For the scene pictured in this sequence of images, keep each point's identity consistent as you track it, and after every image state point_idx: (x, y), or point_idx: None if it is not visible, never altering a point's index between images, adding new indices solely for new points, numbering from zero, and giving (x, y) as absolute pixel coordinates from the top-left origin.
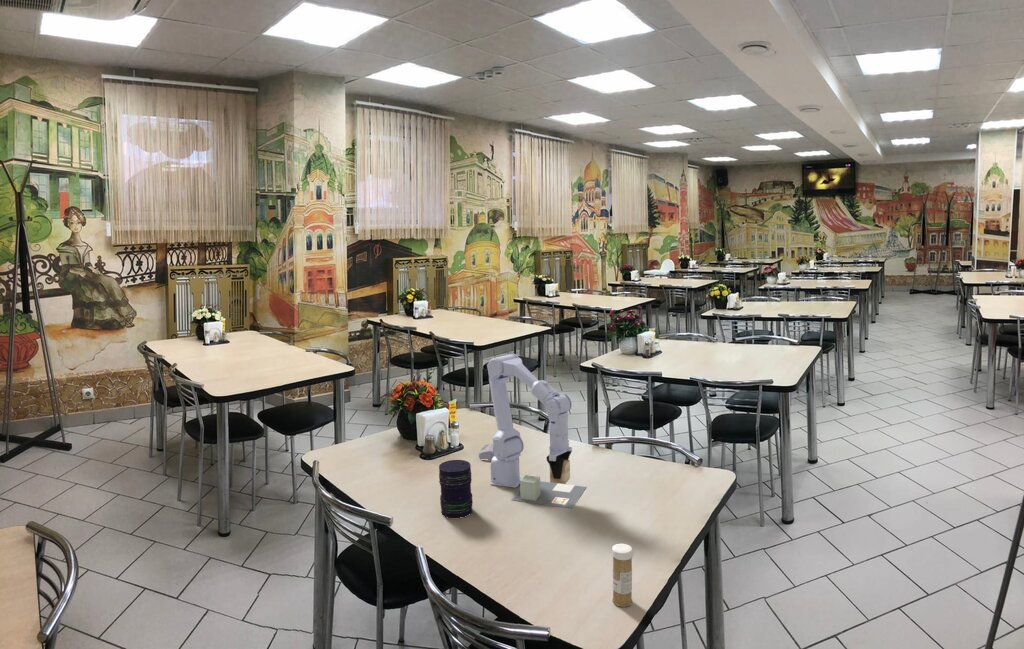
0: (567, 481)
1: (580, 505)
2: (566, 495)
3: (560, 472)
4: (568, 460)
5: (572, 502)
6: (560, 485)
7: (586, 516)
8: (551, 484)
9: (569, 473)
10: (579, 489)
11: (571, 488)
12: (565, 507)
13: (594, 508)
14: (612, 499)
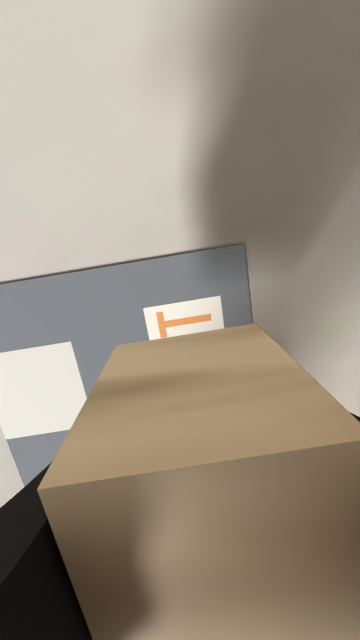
0: (193, 333)
1: (187, 217)
2: (112, 339)
3: (357, 417)
4: (68, 500)
5: (177, 272)
6: (21, 417)
7: (307, 118)
8: (36, 456)
9: (121, 364)
10: (5, 312)
11: (19, 355)
12: (247, 280)
13: (187, 118)
14: (7, 57)
